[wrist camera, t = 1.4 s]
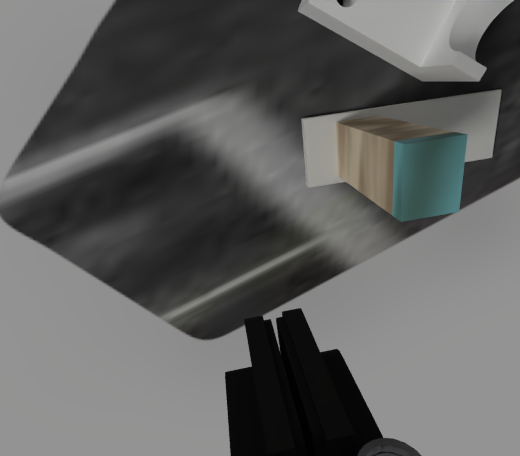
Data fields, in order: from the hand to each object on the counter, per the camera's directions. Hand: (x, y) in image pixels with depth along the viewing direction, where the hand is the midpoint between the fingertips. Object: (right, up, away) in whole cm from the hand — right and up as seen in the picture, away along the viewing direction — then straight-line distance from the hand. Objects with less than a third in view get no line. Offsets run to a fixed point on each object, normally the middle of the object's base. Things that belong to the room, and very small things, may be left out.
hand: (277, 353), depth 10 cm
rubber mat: (+13, +12, +23) cm, 30 cm away
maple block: (+9, +11, +23) cm, 27 cm away
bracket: (+10, +22, +19) cm, 31 cm away
